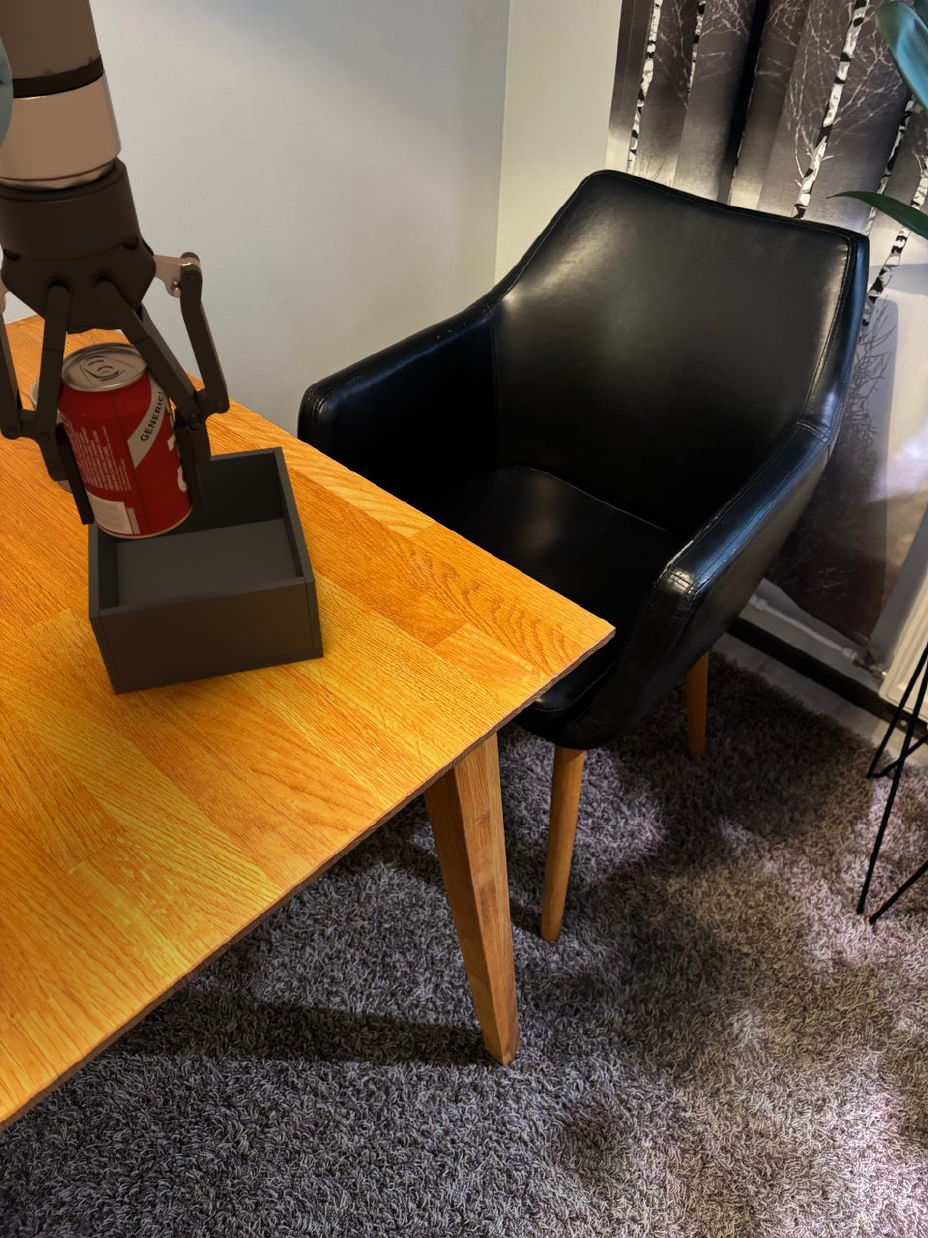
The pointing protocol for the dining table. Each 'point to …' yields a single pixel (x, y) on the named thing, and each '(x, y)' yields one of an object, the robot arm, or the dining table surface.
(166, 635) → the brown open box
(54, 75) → the robot arm
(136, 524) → the soda can
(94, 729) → the dining table surface
